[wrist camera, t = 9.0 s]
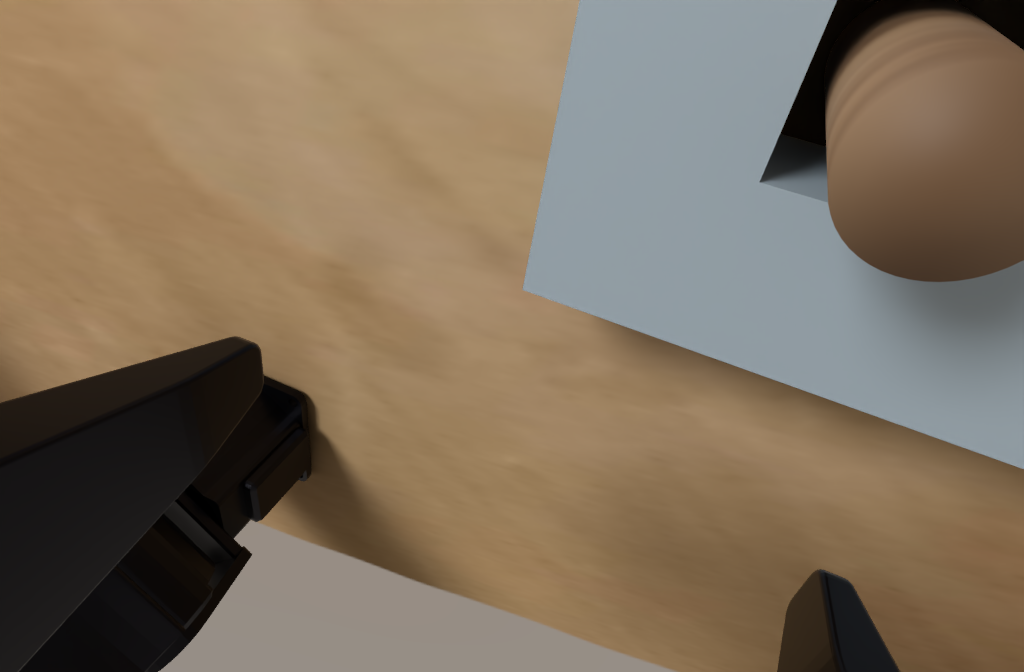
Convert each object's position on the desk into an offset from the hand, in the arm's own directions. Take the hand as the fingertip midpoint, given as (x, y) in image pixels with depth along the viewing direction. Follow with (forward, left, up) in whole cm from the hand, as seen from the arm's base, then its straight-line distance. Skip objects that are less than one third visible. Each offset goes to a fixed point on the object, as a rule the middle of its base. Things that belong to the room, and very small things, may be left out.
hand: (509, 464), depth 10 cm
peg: (+5, +5, -12) cm, 14 cm away
